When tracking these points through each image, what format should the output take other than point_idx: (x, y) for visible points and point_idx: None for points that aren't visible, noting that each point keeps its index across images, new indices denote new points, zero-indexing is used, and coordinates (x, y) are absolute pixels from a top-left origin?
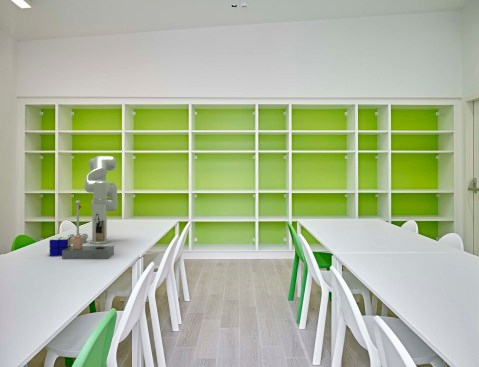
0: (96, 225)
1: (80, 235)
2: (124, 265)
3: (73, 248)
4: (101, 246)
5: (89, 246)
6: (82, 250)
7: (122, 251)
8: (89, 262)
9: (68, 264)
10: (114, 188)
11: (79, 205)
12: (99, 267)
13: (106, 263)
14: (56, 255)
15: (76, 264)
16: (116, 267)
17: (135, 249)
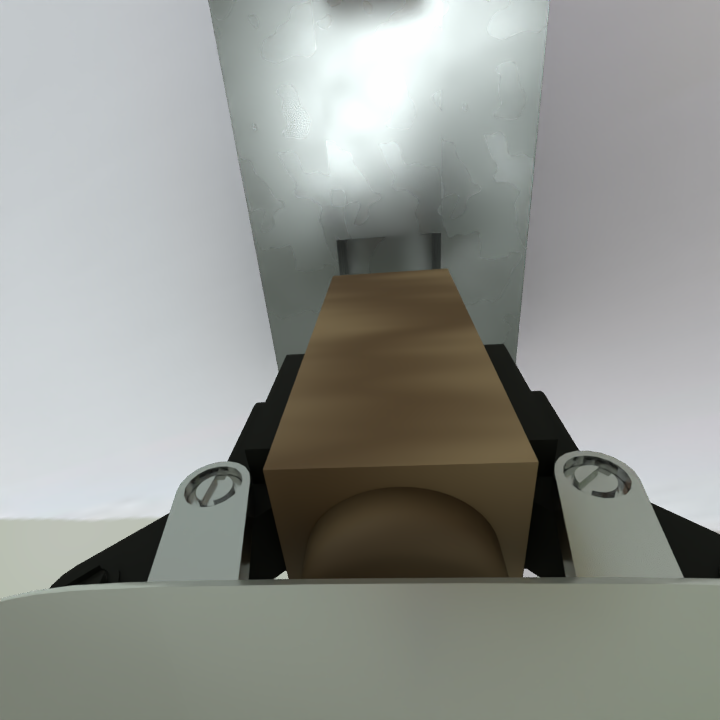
0: (162, 518)
1: None
2: (151, 514)
3: None
4: (494, 266)
5: (502, 78)
6: (228, 96)
7: (600, 396)
8: (149, 251)
9: (6, 55)
10: None
11: None
12: (45, 389)
13: (162, 399)
14: None
15: (42, 152)
16: (91, 486)
17: (668, 475)
